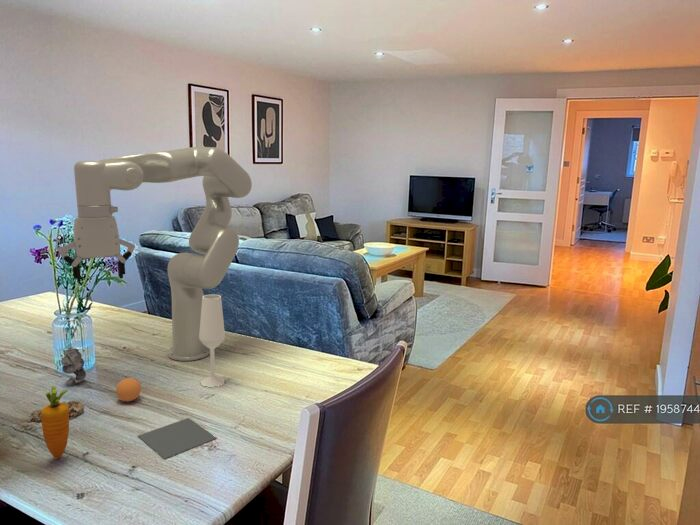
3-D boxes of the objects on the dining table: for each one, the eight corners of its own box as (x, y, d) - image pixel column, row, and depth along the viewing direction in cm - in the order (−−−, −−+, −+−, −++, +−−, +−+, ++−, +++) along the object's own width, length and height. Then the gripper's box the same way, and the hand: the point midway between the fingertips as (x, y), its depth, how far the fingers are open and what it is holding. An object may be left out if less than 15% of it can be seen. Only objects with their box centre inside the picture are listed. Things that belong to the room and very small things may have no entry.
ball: (135, 393, 131) (134, 372, 130) (145, 400, 128) (144, 379, 126) (112, 399, 127) (111, 378, 126) (122, 407, 123) (121, 385, 122)
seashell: (76, 388, 133) (74, 351, 131) (58, 385, 134) (56, 349, 132) (90, 380, 138) (88, 344, 136) (73, 377, 139) (71, 342, 137)
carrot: (51, 452, 104) (46, 382, 101) (76, 452, 104) (72, 382, 101) (38, 466, 99) (33, 393, 96) (65, 466, 99) (60, 393, 97)
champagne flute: (230, 382, 140) (230, 297, 136) (208, 389, 135) (207, 301, 131) (216, 375, 144) (215, 292, 140) (194, 381, 140) (193, 296, 135)
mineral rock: (82, 394, 125) (84, 399, 118) (84, 412, 125) (86, 418, 118) (30, 405, 120) (29, 410, 113) (32, 424, 119) (31, 430, 112)
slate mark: (188, 418, 120) (188, 417, 120) (216, 438, 112) (216, 437, 112) (137, 436, 111) (137, 435, 111) (164, 459, 103) (164, 458, 103)
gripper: (130, 209, 135) (134, 272, 138) (54, 211, 126) (60, 279, 129) (134, 212, 128) (139, 279, 132) (55, 215, 120) (62, 286, 123)
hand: (100, 279), depth 131 cm, fingers open, 9 cm apart
